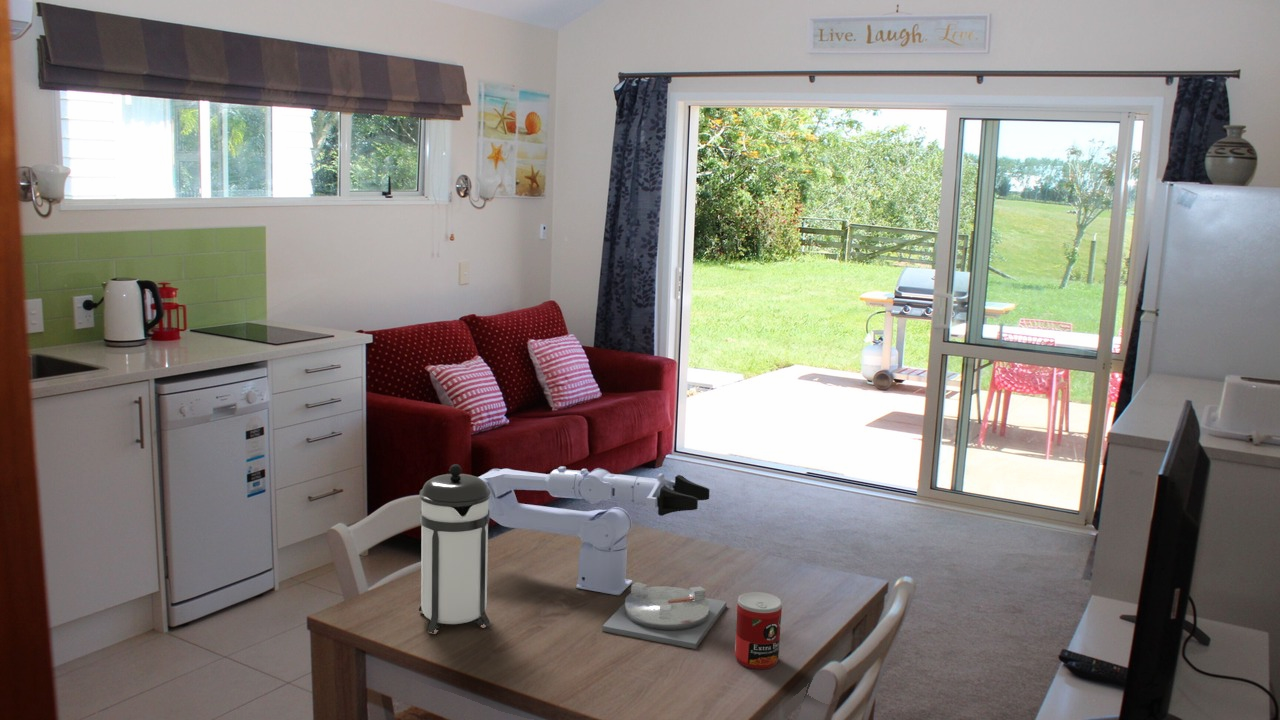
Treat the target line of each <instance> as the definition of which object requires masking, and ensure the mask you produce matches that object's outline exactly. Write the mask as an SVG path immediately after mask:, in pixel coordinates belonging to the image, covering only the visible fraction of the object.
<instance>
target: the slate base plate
mask: <svg viewBox="0 0 1280 720" xmlns="http://www.w3.org/2000/svg"><path fill="white" fill-rule="evenodd" d="M705 598H706V599H707V601H708V602H709V616H708V619H707V620H706V621H705V622H704V623H702V624H701V625H698V626H696V627H693V628H688V629H682V630H661V629H654V628H649V627H645V626H642V625H639V624H637V623H635V622H633V621H631V620H630V619H629V618H628V617H627V616H626V614H625V602H624V603H623V604H621V606H620V607H619V608H618V609H617V610H616V611H615V612H614V614H612V615H611V616H610V617H609V619H607V620H606V622H604V624H603V625H602V627H601V631H602V632H606V633H611V634H616V635H620V636H621V635H622V636H626V637H632V638H636V639H641V640H646V641H652V642H658V643H663V644H667V645H673V646H679V647H683V648H688V649H694V650H696V649H697V648H698V647H699V645H700V643H701V642H702V641H703V640H704V638H705V636H706V635H707V634H708V633H709V631H710V630H711V629H712V627H713V626H714V624H715V623H716V622H717V619H718V618H719V617H720V616H721V615H722V613H723V611H725V609H726V607H727V601H725V600H721V599H720V600H719V599H715V598H707V597H705Z"/></svg>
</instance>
